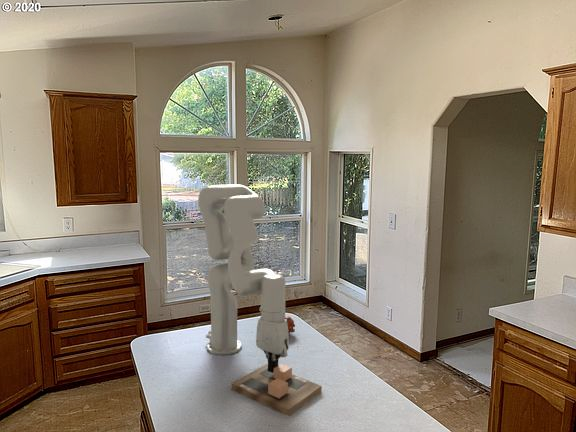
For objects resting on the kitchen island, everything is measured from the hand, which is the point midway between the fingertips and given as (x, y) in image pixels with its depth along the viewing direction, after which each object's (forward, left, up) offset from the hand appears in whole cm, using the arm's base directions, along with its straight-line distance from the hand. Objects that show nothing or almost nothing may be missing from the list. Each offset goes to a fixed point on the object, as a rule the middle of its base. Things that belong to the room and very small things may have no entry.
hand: (273, 370), depth 136 cm
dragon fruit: (-19, +29, -4) cm, 35 cm away
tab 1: (+4, 0, -1) cm, 4 cm away
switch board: (+5, -4, -3) cm, 7 cm away
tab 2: (+9, -8, -1) cm, 12 cm away
